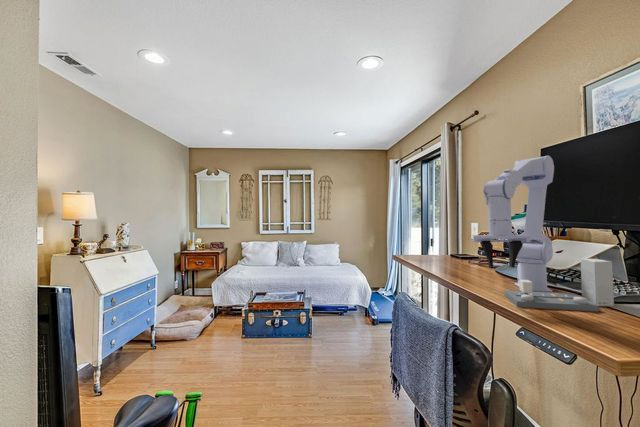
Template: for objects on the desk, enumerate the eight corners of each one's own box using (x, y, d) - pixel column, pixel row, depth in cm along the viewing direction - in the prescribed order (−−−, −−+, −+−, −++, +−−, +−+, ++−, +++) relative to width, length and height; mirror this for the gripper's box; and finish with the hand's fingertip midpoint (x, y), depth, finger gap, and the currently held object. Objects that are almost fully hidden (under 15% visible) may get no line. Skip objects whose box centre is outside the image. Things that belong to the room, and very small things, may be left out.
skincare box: (615, 306, 78) (613, 261, 78) (596, 306, 79) (594, 261, 79) (598, 300, 84) (596, 258, 84) (581, 299, 85) (579, 258, 85)
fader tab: (519, 293, 87) (519, 279, 87) (528, 294, 86) (527, 279, 86) (523, 296, 84) (523, 282, 84) (532, 297, 83) (532, 282, 83)
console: (504, 295, 92) (504, 286, 92) (574, 298, 86) (574, 289, 87) (517, 306, 81) (516, 296, 81) (598, 311, 75) (598, 300, 75)
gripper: (475, 221, 85) (476, 268, 85) (533, 220, 81) (535, 269, 81) (470, 220, 92) (472, 264, 92) (524, 219, 88) (526, 265, 88)
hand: (501, 266), depth 87 cm, fingers open, 5 cm apart
